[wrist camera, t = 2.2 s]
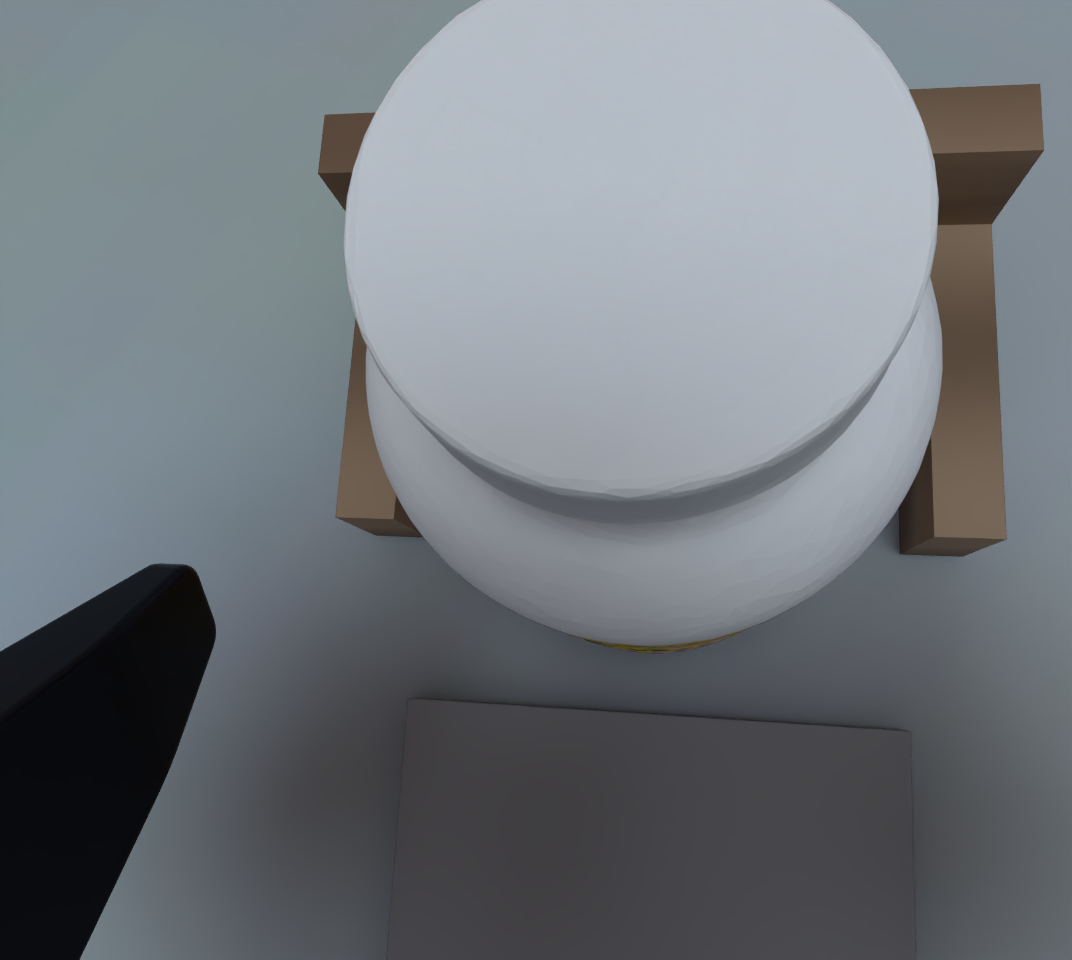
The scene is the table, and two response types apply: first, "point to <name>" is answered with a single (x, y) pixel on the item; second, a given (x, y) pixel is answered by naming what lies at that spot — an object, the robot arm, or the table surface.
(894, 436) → the supplement bottle
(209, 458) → the table surface
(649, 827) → the pad
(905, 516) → the shelf lane
